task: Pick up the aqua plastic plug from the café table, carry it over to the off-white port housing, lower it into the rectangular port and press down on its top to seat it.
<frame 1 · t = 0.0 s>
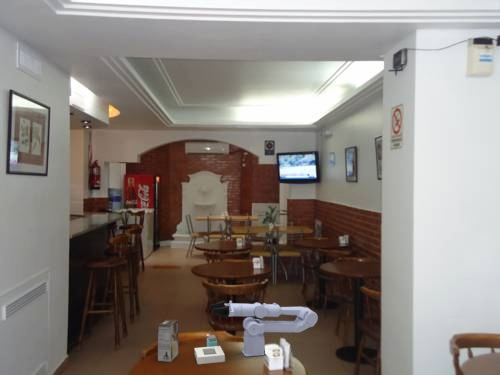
hand: (211, 309, 198), 22 cm above the table, tool horizontal, fingers open, 7 cm apart
plug: (211, 349, 208), on the table
port housing: (209, 358, 196), on the table
coffee box: (168, 358, 197), on the table
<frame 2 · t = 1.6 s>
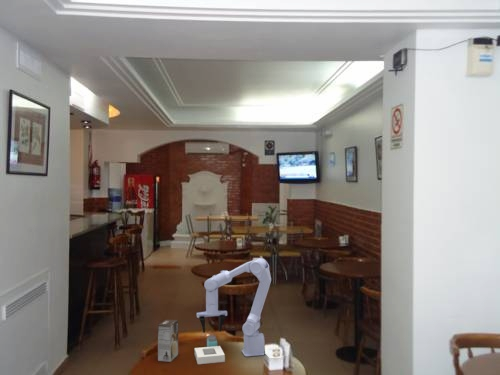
hand: (211, 331, 208), 8 cm above the table, tool pointing down, fingers open, 7 cm apart
nothing on the table moved.
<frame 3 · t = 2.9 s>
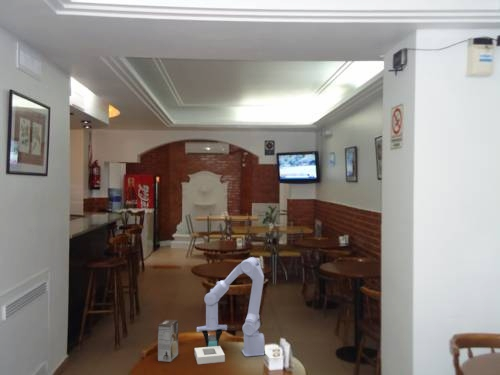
hand: (211, 345, 208), 2 cm above the table, tool pointing down, fingers closed on plug, 4 cm apart
plug: (211, 349, 208), on the table, touching gripper
everything else where it was.
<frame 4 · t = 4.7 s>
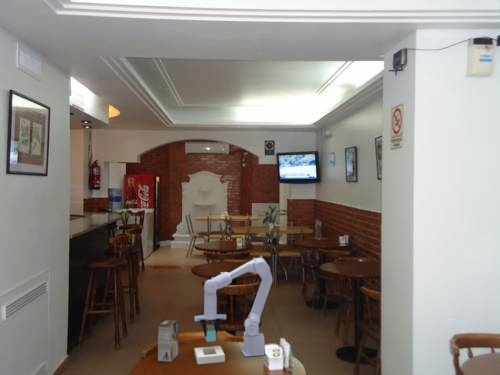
hand: (210, 335, 201), 9 cm above the table, tool pointing down, fingers closed on plug, 4 cm apart
plug: (210, 339, 201), point 7 cm above the table, touching gripper
everything else where it was.
when the fingers open (4 cm above the table, at t = 6.6 s): plug drops 1 cm, resting on port housing.
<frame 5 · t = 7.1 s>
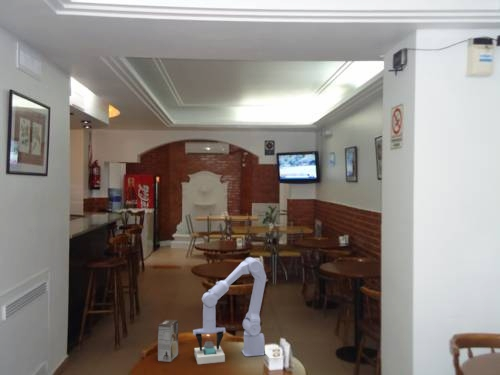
hand: (209, 349, 197), 4 cm above the table, tool pointing down, fingers open, 7 cm apart
plug: (209, 356, 197), point 1 cm above the table, touching port housing
everything else where it was.
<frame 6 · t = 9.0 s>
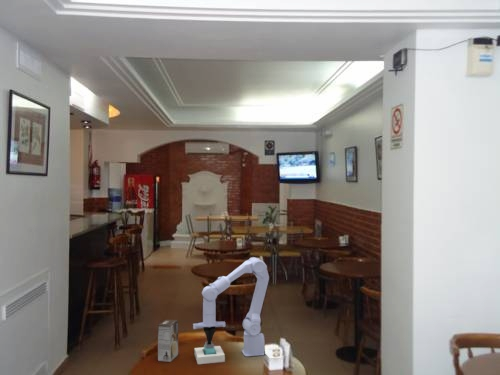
hand: (209, 343, 197), 7 cm above the table, tool pointing down, fingers closed, pressing on plug
plug: (209, 356, 197), point 1 cm above the table, touching gripper, port housing
everything else where it was.
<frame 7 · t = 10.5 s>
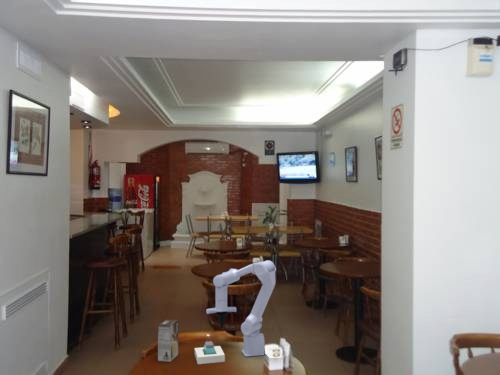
hand: (221, 327, 211), 9 cm above the table, tool pointing down, fingers closed
plug: (209, 356, 197), point 1 cm above the table, touching port housing
everything else where it was.
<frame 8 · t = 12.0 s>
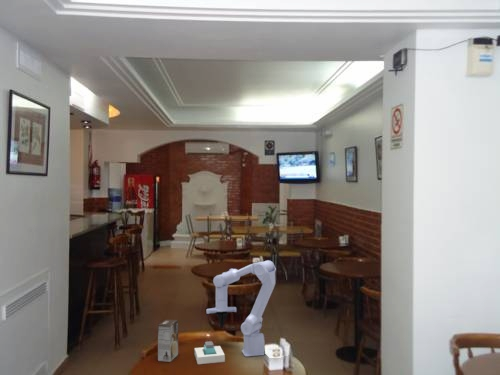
hand: (221, 327, 211), 9 cm above the table, tool pointing down, fingers closed
nothing on the table moved.
at the end: plug 0.2 cm off-centre on the port housing, point 0.6 cm above the port housing's base; plug tilted 0°; the gripper is holding nothing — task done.
